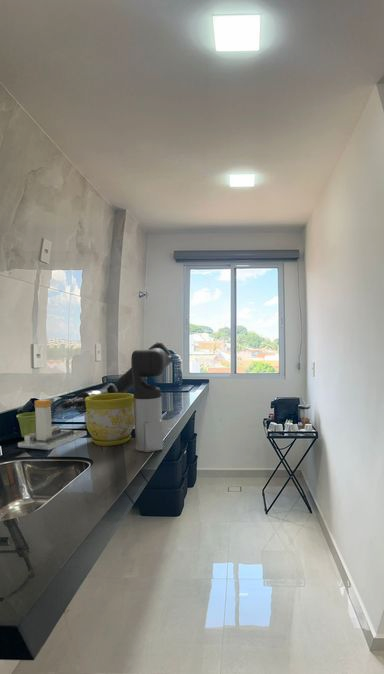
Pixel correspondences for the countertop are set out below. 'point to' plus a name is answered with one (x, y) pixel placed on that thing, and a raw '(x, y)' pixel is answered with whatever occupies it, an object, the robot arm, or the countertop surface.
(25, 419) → the plant pot
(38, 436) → the white bottle
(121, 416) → the flowerpot
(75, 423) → the countertop surface
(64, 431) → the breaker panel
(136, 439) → the robot arm
